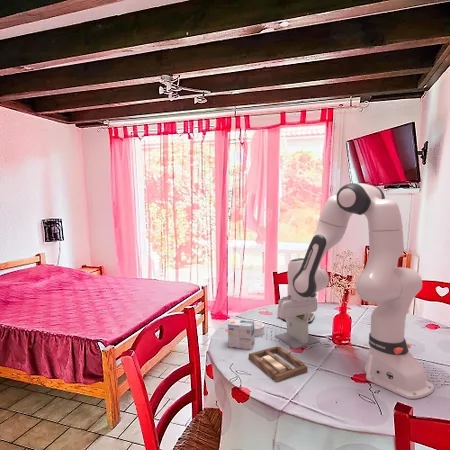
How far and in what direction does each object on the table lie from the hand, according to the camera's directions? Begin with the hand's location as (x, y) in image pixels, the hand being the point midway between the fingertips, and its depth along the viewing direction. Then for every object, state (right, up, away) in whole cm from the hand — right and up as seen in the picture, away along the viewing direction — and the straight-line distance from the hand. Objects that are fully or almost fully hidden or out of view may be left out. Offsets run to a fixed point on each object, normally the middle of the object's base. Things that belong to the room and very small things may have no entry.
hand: (297, 324), depth 152 cm
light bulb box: (-25, -8, -4) cm, 27 cm away
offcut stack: (-14, -10, -24) cm, 30 cm away
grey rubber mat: (0, -7, +1) cm, 7 cm away
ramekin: (-18, -7, +9) cm, 21 cm away
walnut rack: (-13, -10, -21) cm, 26 cm away
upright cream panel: (0, -7, +1) cm, 7 cm away
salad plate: (+5, -5, +26) cm, 27 cm away
